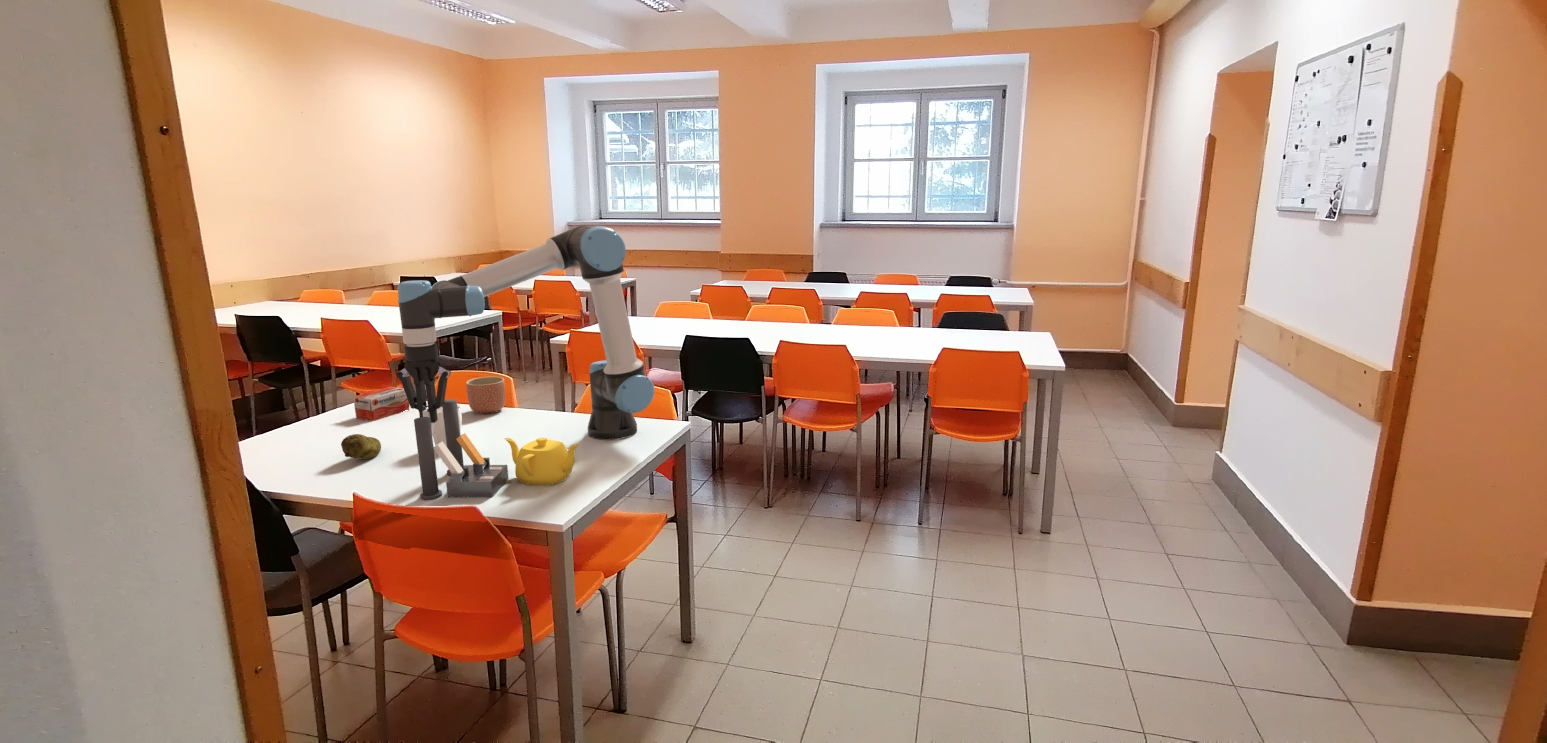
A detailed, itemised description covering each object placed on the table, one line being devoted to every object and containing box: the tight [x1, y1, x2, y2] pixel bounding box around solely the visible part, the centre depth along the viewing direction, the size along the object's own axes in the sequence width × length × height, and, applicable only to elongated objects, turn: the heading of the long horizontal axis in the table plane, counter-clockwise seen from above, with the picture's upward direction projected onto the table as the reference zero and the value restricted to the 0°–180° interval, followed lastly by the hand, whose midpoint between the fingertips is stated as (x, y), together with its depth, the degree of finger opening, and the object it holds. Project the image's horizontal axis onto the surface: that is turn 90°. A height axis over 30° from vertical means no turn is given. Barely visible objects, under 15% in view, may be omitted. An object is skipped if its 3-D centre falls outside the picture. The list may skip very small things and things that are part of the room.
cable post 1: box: [413, 416, 443, 501], centre depth 185 cm, size 5×5×20 cm
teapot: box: [504, 437, 580, 486], centre depth 196 cm, size 22×16×11 cm
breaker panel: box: [445, 457, 510, 498], centre depth 191 cm, size 11×12×6 cm
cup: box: [432, 404, 463, 447], centre depth 222 cm, size 9×9×12 cm
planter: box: [465, 376, 506, 415], centre depth 259 cm, size 12×12×11 cm
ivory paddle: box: [433, 441, 466, 477], centre depth 186 cm, size 2×3×10 cm, turn 179°
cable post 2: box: [442, 398, 465, 477], centre depth 200 cm, size 5×5×20 cm
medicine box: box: [353, 385, 410, 422], centre depth 257 cm, size 15×8×8 cm, turn 156°
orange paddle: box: [456, 432, 487, 467], centre depth 193 cm, size 2×3×10 cm, turn 179°
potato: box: [340, 433, 382, 460], centre depth 213 cm, size 8×13×8 cm, turn 158°
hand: (430, 434), depth 192 cm, fingers closed
